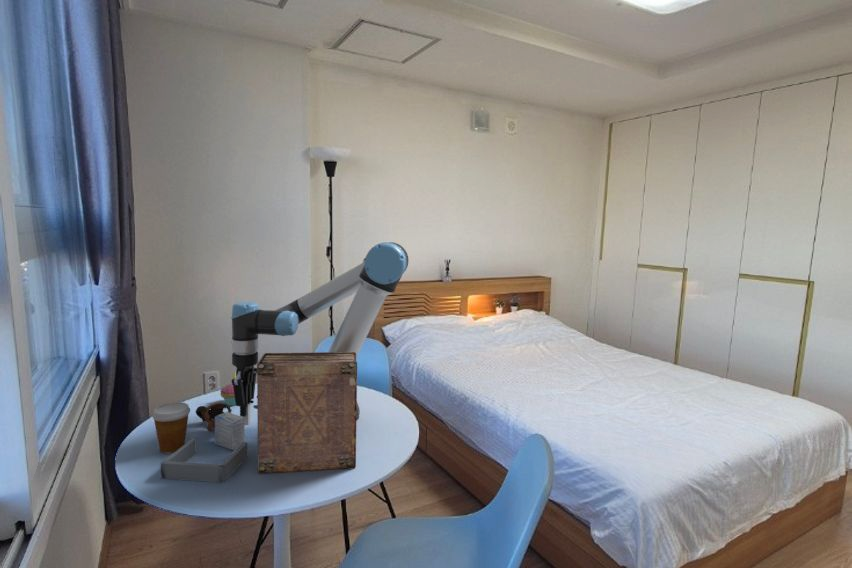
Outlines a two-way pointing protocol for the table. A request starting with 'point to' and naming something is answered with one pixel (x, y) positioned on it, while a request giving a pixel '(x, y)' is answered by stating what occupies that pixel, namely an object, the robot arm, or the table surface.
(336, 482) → the table surface
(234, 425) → the medicine box
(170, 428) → the disposable coffee cup
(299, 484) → the table surface
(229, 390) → the cupcake
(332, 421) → the book
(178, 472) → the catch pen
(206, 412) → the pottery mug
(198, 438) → the table surface
